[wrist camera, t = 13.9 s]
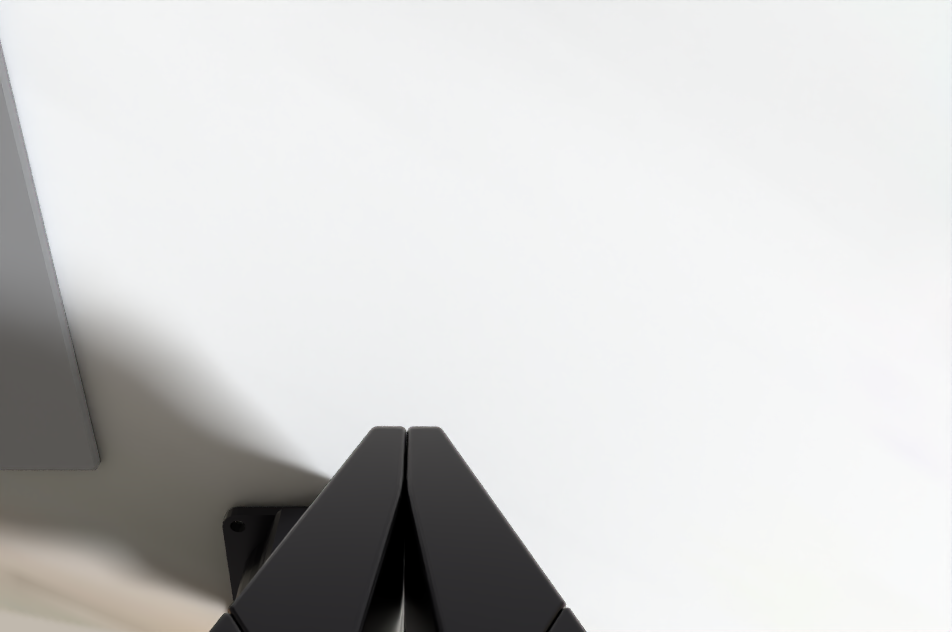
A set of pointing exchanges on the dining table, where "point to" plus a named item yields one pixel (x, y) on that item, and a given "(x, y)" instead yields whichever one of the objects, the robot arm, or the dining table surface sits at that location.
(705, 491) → the dining table surface
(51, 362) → the mat
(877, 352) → the dining table surface
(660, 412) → the dining table surface
